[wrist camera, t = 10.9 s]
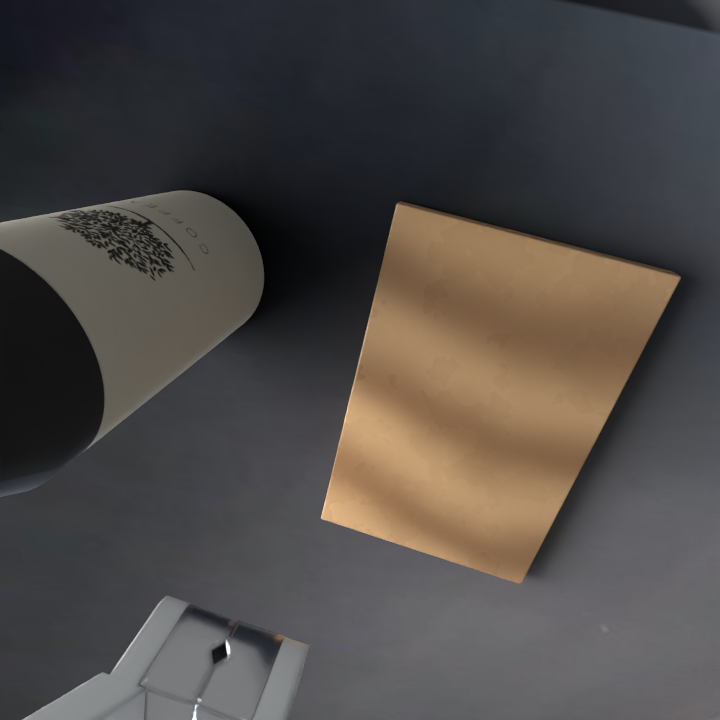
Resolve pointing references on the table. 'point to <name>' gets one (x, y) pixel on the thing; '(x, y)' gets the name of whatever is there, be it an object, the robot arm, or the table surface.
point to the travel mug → (110, 317)
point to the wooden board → (484, 386)
